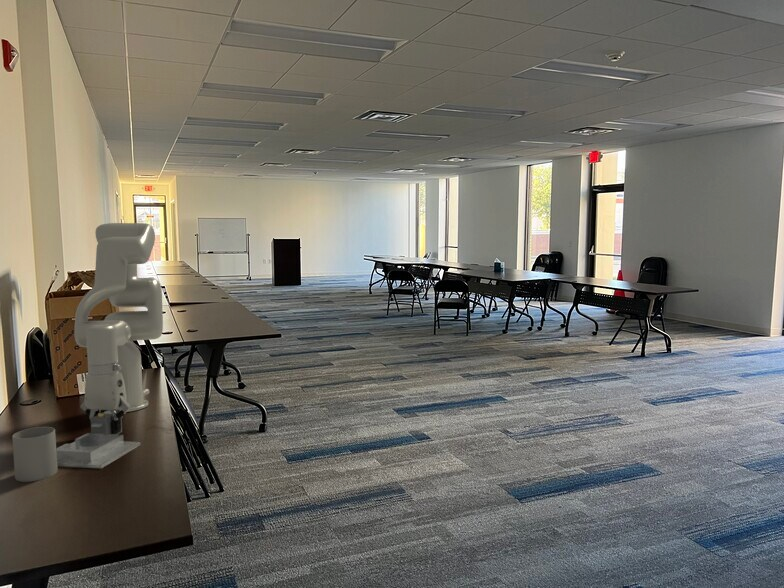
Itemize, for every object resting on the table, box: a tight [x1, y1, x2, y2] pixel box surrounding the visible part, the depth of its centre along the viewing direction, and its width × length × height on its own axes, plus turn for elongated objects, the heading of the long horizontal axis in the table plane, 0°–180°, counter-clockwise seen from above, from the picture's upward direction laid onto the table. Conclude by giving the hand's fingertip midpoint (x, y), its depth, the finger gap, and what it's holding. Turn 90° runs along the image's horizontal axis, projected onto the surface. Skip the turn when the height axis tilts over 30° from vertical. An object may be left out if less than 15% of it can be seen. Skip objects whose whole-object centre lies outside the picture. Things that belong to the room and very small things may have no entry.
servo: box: [89, 410, 123, 435], centre depth 160 cm, size 9×4×7 cm, turn 171°
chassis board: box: [56, 432, 142, 469], centre depth 146 cm, size 16×18×3 cm
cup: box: [11, 426, 59, 482], centre depth 133 cm, size 8×8×10 cm
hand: (107, 432), depth 160 cm, fingers open, 5 cm apart
